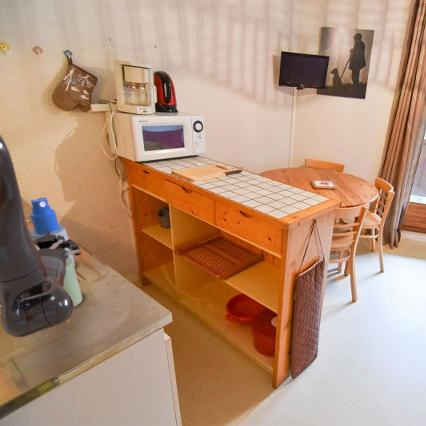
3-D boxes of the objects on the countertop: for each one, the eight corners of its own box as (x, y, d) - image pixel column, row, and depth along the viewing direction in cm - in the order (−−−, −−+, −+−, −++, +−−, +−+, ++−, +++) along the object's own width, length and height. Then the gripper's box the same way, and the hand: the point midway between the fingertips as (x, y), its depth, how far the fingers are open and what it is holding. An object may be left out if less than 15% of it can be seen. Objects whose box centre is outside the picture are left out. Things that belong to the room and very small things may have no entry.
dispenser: (82, 305, 91) (70, 261, 85) (46, 315, 87) (31, 269, 81) (82, 290, 97) (71, 248, 91) (48, 299, 92) (34, 254, 87)
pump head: (60, 253, 85) (56, 239, 83) (40, 257, 83) (36, 242, 81) (60, 241, 90) (57, 228, 88) (42, 245, 88) (38, 231, 86)
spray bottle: (80, 267, 108) (62, 199, 98) (48, 279, 100) (26, 207, 91) (67, 259, 112) (49, 192, 102) (36, 270, 105) (13, 199, 95)
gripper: (79, 249, 76) (78, 222, 89) (-2, 265, 68) (9, 232, 81) (85, 275, 79) (84, 246, 92) (8, 293, 71) (18, 258, 84)
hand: (49, 240), depth 86 cm, fingers closed on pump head, 4 cm apart
